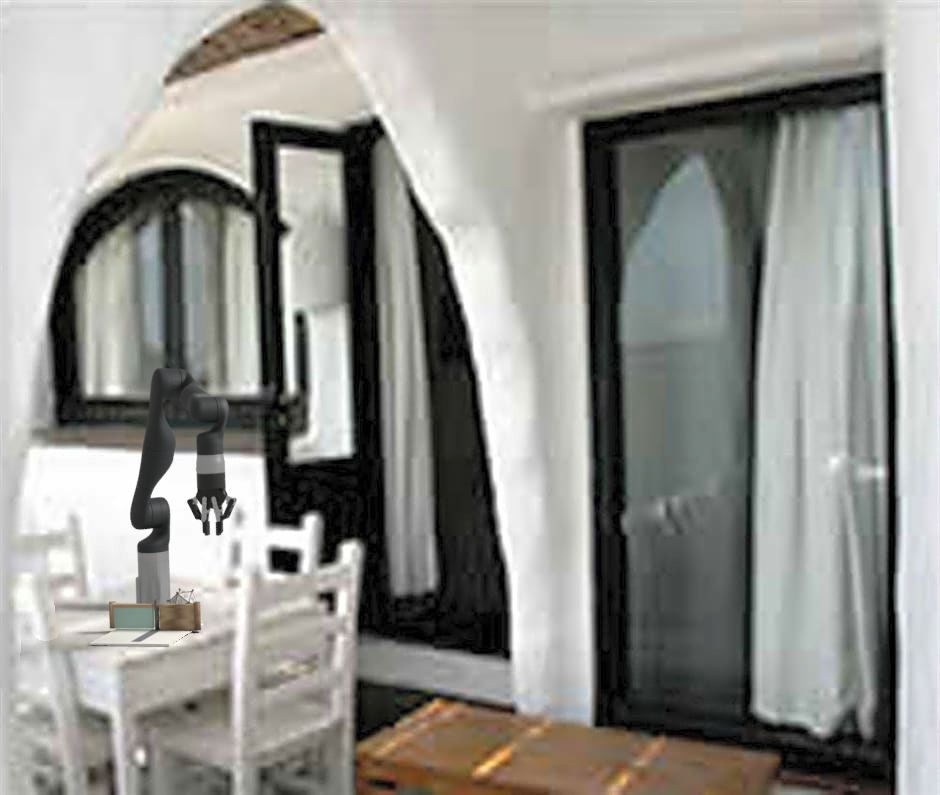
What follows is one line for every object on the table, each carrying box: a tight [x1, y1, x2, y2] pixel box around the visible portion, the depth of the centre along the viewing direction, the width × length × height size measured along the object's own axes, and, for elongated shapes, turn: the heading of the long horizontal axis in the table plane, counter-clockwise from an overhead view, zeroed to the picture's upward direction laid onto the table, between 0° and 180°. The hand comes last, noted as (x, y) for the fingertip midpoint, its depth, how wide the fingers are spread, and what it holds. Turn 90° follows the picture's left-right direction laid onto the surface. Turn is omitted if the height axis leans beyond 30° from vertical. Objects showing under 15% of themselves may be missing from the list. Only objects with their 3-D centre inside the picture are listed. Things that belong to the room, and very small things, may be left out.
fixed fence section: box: [154, 600, 202, 632], centre depth 319 cm, size 13×2×8 cm, turn 82°
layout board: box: [88, 622, 204, 647], centre depth 317 cm, size 24×24×1 cm
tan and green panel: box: [108, 601, 155, 630], centre depth 321 cm, size 13×2×7 cm, turn 82°
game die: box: [167, 588, 202, 607], centre depth 339 cm, size 9×8×10 cm
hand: (212, 534), depth 314 cm, fingers open, 2 cm apart
